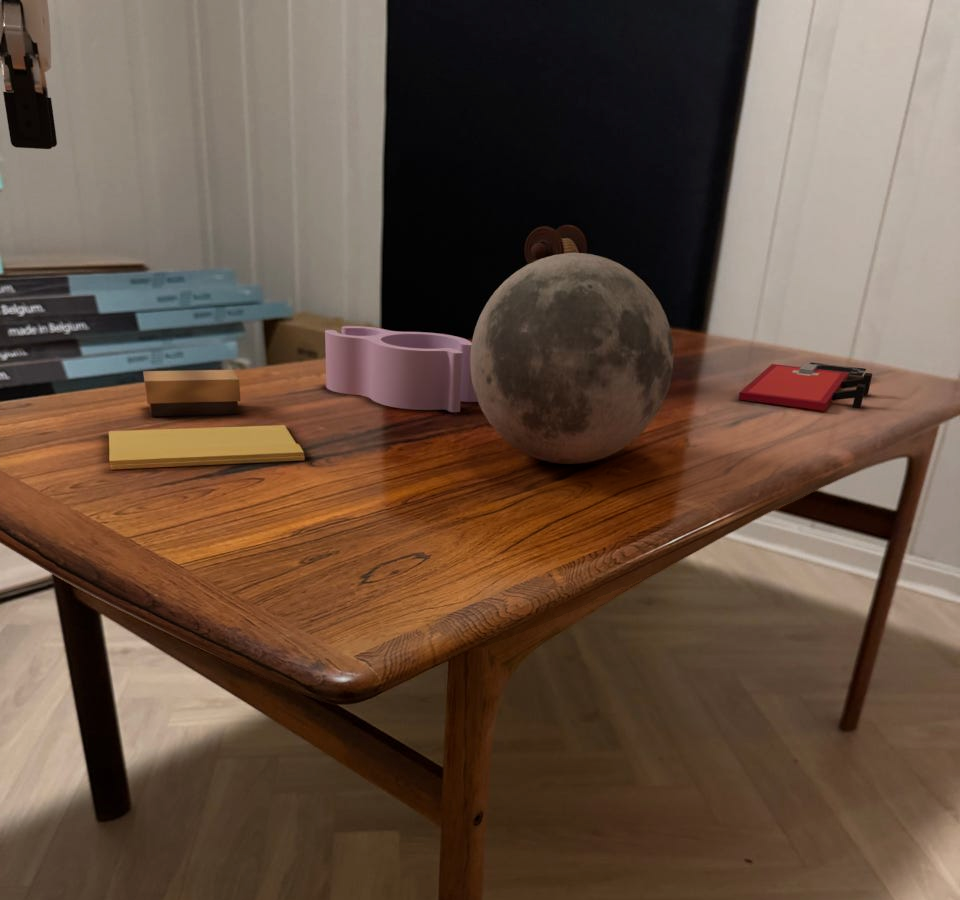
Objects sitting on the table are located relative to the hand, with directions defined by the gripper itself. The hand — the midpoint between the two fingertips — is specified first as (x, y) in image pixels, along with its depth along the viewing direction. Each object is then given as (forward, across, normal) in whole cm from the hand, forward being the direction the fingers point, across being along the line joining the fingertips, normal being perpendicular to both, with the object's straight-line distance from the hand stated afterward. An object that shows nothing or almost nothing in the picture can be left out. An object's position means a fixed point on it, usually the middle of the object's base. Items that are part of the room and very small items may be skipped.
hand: (35, 147), depth 84 cm
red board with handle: (+26, -13, +99) cm, 103 cm away
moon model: (+26, +14, +47) cm, 56 cm away
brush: (+26, -11, +12) cm, 31 cm away
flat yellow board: (+26, +4, +12) cm, 29 cm away
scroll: (+26, -21, +60) cm, 69 cm away
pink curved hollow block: (+26, -16, +38) cm, 49 cm away
